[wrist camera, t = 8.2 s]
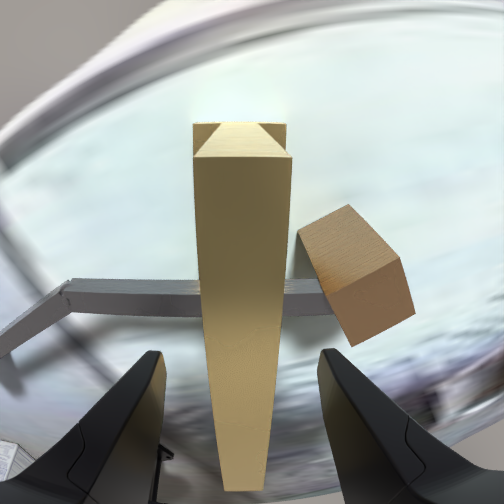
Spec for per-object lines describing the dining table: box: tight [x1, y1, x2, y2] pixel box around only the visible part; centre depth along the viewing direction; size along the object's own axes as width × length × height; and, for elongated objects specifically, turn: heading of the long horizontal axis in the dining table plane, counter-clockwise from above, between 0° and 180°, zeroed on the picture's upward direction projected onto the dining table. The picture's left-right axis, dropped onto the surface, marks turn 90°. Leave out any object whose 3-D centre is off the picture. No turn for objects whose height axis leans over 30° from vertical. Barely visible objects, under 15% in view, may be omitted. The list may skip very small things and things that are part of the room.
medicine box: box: [0, 440, 36, 481], centre depth 26 cm, size 8×4×9 cm, turn 11°
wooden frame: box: [193, 122, 292, 491], centre depth 12 cm, size 12×4×10 cm, turn 179°
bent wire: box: [0, 204, 416, 358], centre depth 15 cm, size 9×30×6 cm, turn 119°
